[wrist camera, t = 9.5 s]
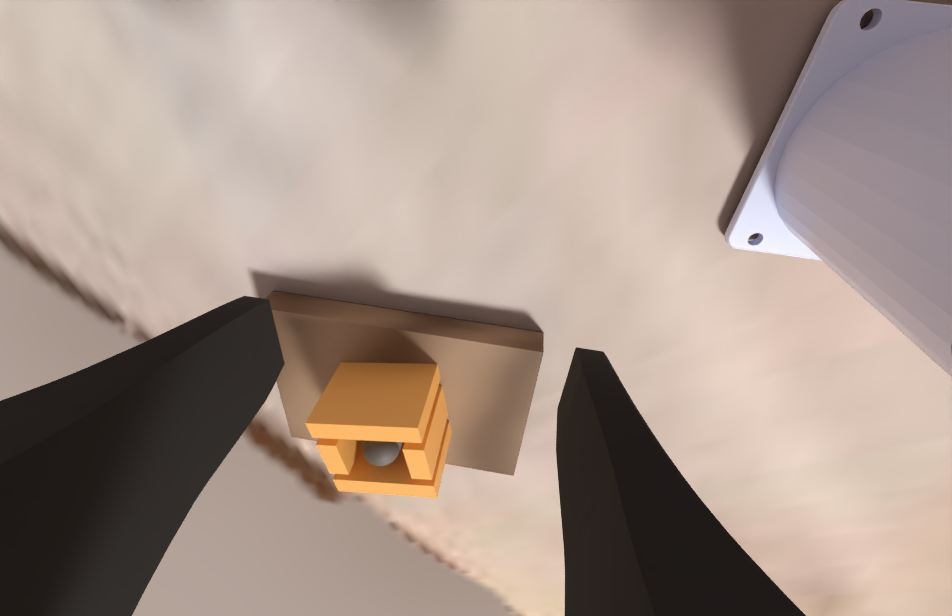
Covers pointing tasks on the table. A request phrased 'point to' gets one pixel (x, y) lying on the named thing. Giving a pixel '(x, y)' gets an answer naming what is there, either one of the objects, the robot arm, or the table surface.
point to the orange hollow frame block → (383, 427)
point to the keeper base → (419, 342)
